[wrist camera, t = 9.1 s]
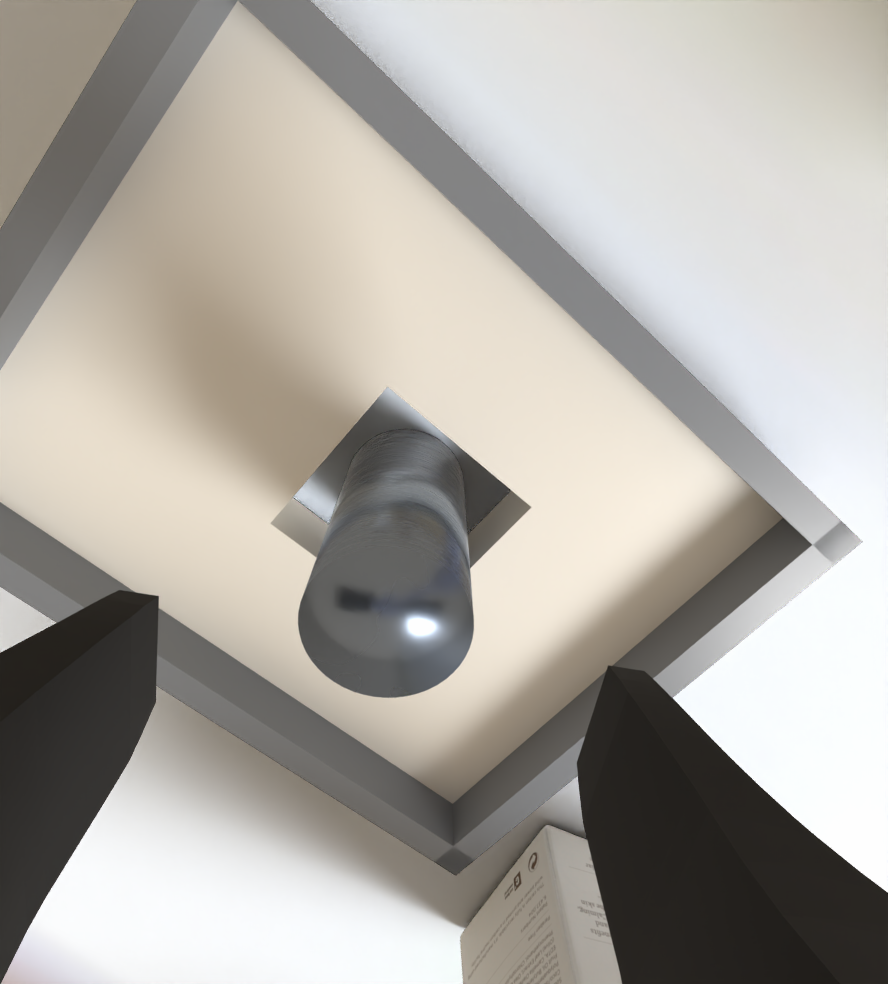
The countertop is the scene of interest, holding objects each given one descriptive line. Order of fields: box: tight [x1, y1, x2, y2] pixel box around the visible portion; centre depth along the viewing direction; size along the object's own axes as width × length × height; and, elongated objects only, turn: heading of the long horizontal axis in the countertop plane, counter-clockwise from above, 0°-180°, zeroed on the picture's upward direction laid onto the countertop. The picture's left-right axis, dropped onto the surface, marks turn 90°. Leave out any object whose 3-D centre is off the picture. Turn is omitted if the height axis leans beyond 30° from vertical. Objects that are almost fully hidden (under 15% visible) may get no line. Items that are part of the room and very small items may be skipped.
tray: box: [0, 0, 862, 875], centre depth 17 cm, size 14×18×4 cm
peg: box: [298, 429, 474, 698], centre depth 16 cm, size 3×3×7 cm
